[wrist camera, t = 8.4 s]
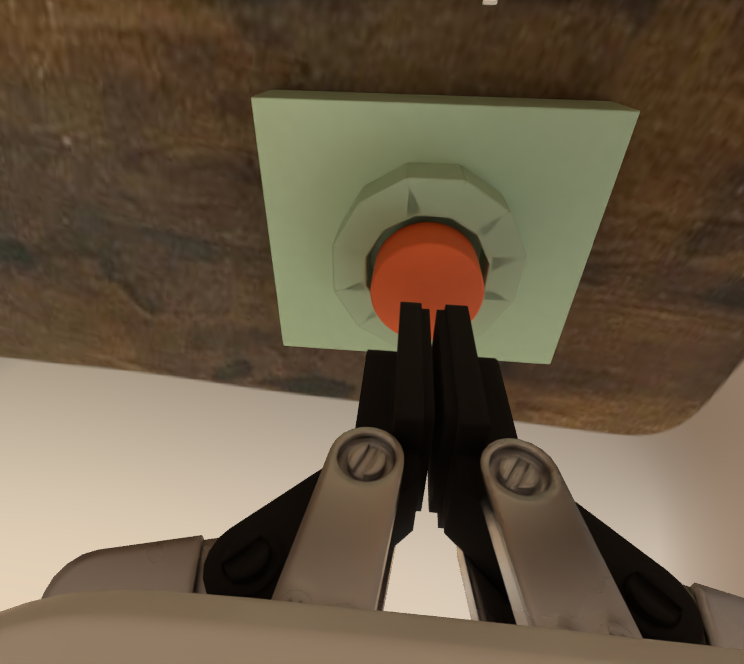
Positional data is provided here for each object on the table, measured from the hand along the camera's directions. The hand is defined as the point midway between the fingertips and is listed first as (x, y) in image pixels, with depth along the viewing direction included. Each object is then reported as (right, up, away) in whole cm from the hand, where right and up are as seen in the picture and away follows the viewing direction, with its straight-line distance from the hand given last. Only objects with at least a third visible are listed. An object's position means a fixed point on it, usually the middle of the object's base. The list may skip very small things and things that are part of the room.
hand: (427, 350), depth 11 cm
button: (0, +3, +4) cm, 4 cm away
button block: (+1, +5, +7) cm, 8 cm away
